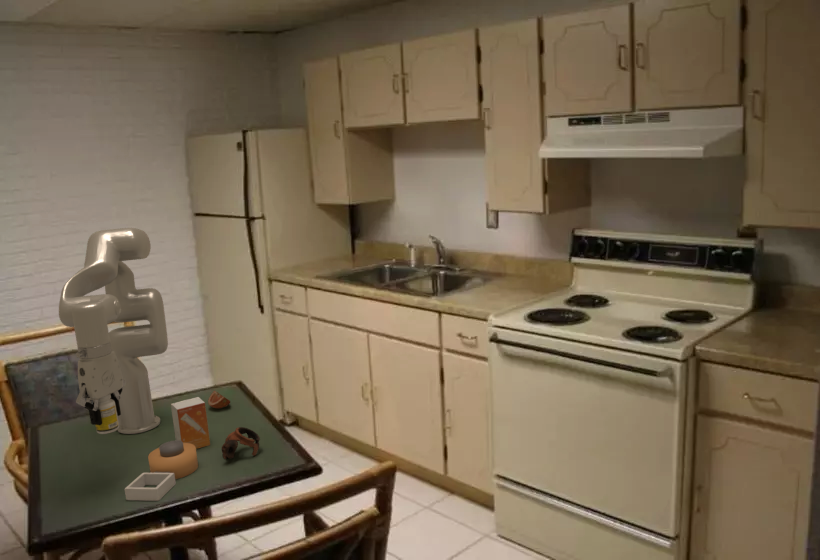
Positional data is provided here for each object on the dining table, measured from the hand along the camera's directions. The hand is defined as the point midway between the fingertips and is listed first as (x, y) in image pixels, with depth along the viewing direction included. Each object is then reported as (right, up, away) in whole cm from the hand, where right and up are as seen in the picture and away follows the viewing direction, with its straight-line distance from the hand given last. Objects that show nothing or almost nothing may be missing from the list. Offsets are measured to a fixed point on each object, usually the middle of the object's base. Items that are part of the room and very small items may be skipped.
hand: (106, 418), depth 185 cm
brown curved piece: (+30, -13, +15) cm, 36 cm away
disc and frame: (+14, -16, +3) cm, 21 cm away
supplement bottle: (0, -3, +1) cm, 3 cm away
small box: (+15, -12, +23) cm, 31 cm away
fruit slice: (+15, -7, +52) cm, 55 cm away
